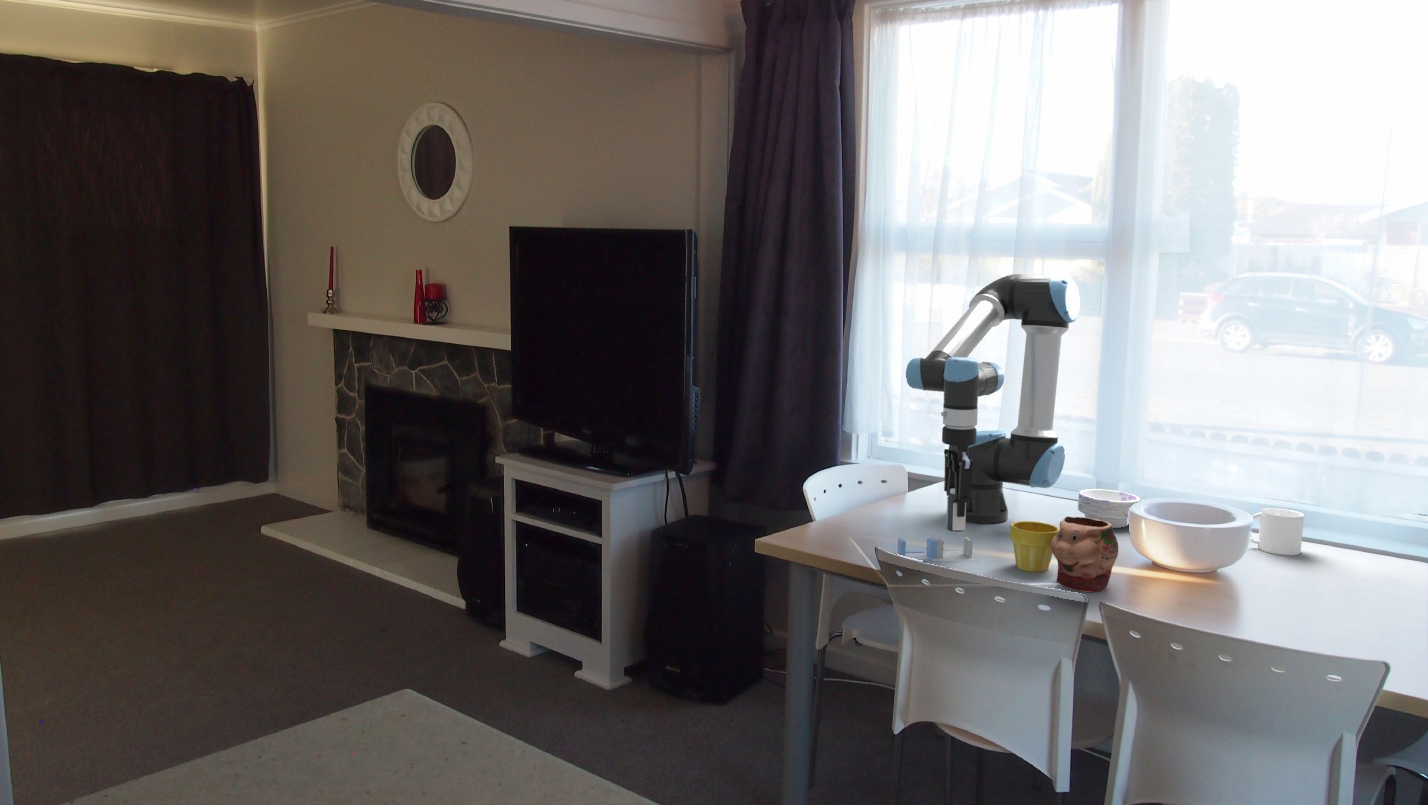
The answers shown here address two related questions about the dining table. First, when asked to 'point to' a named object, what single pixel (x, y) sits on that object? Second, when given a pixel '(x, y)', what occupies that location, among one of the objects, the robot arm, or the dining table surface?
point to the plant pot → (1032, 544)
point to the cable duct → (937, 551)
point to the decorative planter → (1084, 553)
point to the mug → (1280, 531)
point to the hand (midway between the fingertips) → (955, 527)
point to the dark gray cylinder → (951, 510)
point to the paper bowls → (1106, 505)
